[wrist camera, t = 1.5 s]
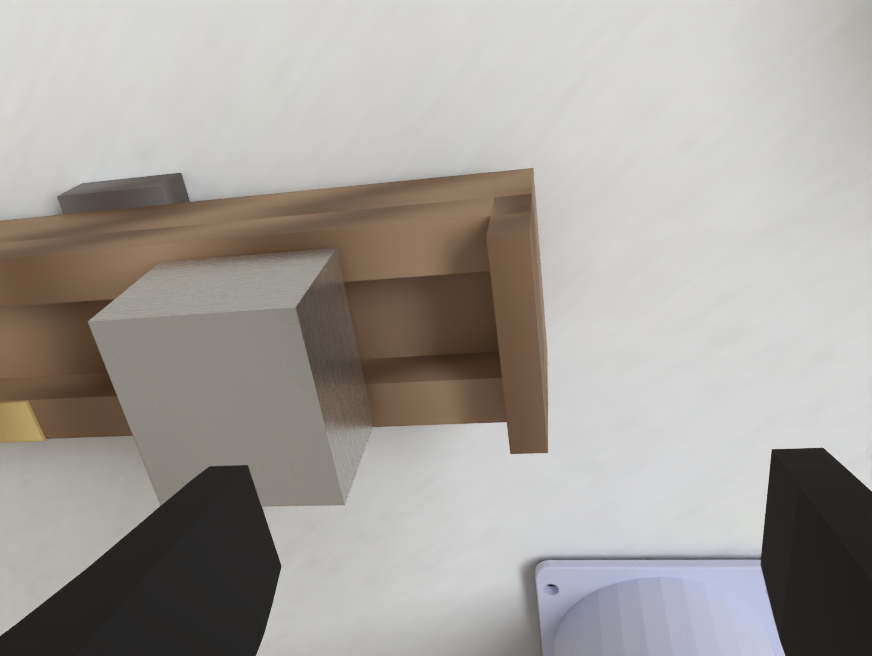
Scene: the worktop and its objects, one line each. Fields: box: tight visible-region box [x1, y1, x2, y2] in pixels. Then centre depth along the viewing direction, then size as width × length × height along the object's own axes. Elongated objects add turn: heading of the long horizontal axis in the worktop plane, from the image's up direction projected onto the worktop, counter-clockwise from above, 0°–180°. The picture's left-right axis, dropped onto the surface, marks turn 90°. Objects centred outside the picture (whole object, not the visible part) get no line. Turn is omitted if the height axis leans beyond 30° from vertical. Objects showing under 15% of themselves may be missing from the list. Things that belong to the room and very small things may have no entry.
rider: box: [88, 248, 374, 506], centre depth 16 cm, size 4×4×4 cm
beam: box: [0, 168, 548, 454], centre depth 19 cm, size 22×6×6 cm, turn 98°
